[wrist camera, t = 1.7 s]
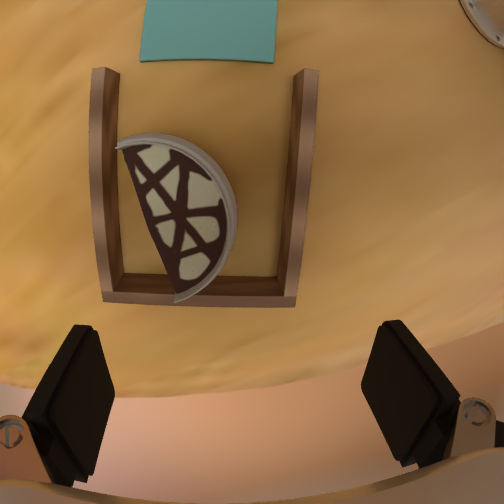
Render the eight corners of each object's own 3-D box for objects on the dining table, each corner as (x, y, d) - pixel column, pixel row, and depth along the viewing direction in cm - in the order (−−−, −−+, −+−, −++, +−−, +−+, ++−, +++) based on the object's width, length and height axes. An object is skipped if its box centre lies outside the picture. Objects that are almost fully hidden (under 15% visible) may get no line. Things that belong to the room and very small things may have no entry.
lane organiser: (108, 75, 24) (92, 68, 20) (306, 77, 26) (319, 70, 22) (114, 283, 32) (103, 301, 28) (287, 287, 33) (295, 307, 30)
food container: (249, 238, 31) (260, 286, 22) (189, 255, 31) (176, 309, 22) (212, 113, 26) (206, 105, 17) (148, 135, 26) (112, 139, 17)
